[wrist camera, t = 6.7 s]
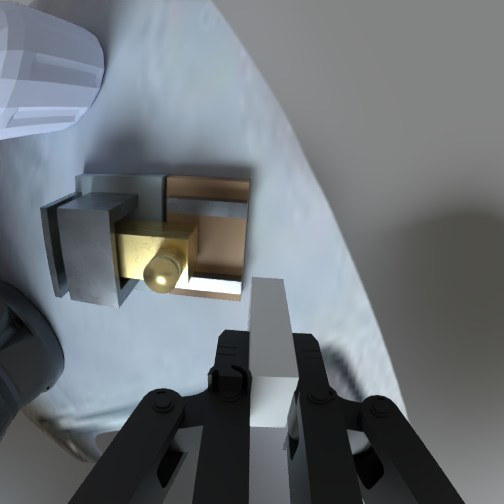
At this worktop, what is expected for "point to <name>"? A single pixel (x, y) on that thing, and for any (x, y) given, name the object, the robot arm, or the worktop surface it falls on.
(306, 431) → the robot arm
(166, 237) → the bolt
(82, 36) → the soap bottle
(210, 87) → the worktop surface
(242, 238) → the panel
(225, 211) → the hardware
